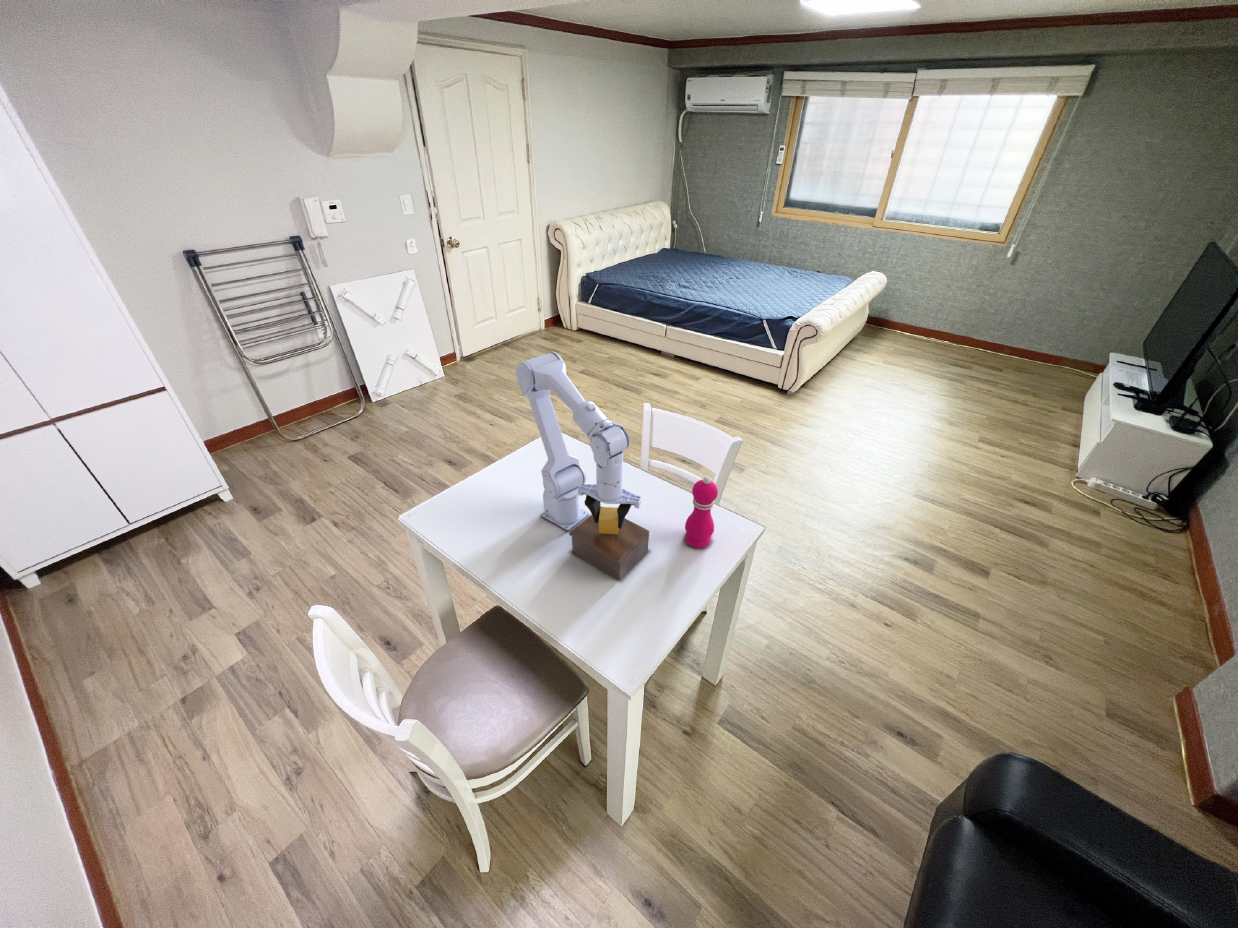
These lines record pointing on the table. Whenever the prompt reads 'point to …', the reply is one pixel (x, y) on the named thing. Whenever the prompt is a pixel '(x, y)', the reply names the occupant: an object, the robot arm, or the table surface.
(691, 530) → the pepper mill
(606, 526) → the mustard block
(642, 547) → the box
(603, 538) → the box lid
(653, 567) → the table surface
